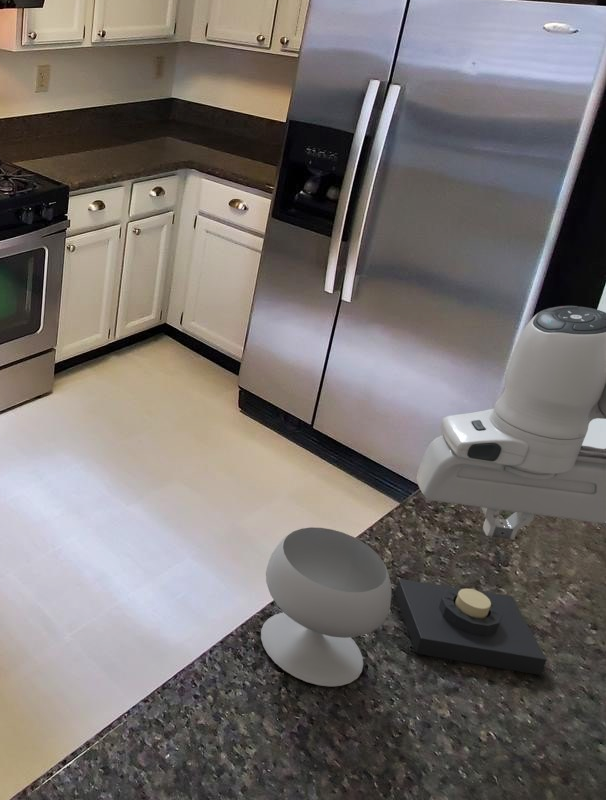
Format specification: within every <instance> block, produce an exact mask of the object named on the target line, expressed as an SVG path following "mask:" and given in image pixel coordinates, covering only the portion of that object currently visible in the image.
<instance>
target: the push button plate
mask: <svg viewBox="0 0 606 800" xmlns="http://www.w3.org/2000/svg"><path fill="white" fill-rule="evenodd" d="M461 589H463V588H462V587H455V586H449V585H443V584H436V583H430V582H423V581H417V580H410V579H403V578H398V580H397V583H396V586H395V589H394V595H395V599H396V601H397V605H398V607H399V610H400V613H401V616H402V618H403V621H404V624H405V627H406V630H407V632H408V635H409V638H410V641H411V643H412V645H413V649H414V651H415V654H417V655H421V656H428V657H434V658H439V659H444V660H451V661H456V662H461V663H468V664H474V665H479V666H485V667H490V668H495V669H496V668H497V669H502V670H507V671H514V672H519V673H525V674H532V675H536V676H541V674H542V672H543V670H544V667H545V665H546V662H547V657H546V656H545V653H544V652H543V650H542V648H541V647H540V645H539V643H538V641H537V639H536V637H535V636H534V633H533V632H532V629H531V628H530V626H529V625H528V622H527V621H526V619H525V617H524V615H523V613H522V612H521V610H520V608H519V606H518V604H517V602H516V600H515V599H514V597H513V596H512V595H506V594H501V593H500V594H499V593H494V592H487V591H482V590H478V591H479V592H481V593H483V594H484V595H485V596H487V597H488V598H489V600H490V602H491V606H490V609H489V612H488V615H487V616H486V617H485V618H476V617H472V616H469V615H467V614H465V613H463V612H462V611H461V610H459V609H458V608H457V607H456V605H455V601H456V599H457V596H458V593H459V591H460V590H461Z"/></svg>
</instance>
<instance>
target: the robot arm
mask: <svg viewBox="0 0 606 800" xmlns="http://www.w3.org/2000/svg"><path fill="white" fill-rule="evenodd" d="M519 335H520V336H519V337H518V340H517V341H516V344H515V346H514V348H513V351H512V354H511V355H510V359H509V362H508V365H507V367H506V371H505V375H504V382H505V384H504V385H505V386H504V389H503V391H502V394H501V395H500V397H499V398H497V400H496V402H495V404H494V407H493V408H489V409H485V410H480V411H475V412H473V411H472V412H467V413H459V414H451V415H446V416H444V417H443V418H442V420H441V422H440V430H441V433H442V435H439V436H437V437H435V438H434V439H433V440H432V441H431V442H430V443H429V445H428V446H427V448H426V449H425V450H426V451H425V452H424V454H423V457H422V459H421V462H420V464H419V466H418V470H417V474H416V484H417V485H418V488H419V490H420V491H421V493H422V495H423V496H424V497H425V498H426V500H429V501H433V502H438V503H439V502H440V503H446V504H447V503H448V504H455V505H461V506H470V507H477V508H481V510H482V512H483V515H484V517H485V519H484V522H483V525H482V531H483V533H484V534H485V536H486V537H492V538H500V539H507V540H515V538H516V536H517V533H518V531H519V530H521V529H523V528H524V527H526V526H527V525H529V524H530V523H532V522H533V521H534V518H535V516H543V517H550V518H558V519H565V520H572V521H573V520H574V521H580V522H588V523H595V524H605V523H606V448H599V447H594V446H590V445H583V443H584V441H585V438H586V436H587V433H588V430H589V426H590V423H591V422H592V421H593V420H596V419H603V420H606V312H605V311H603V310H599V309H596V308H592V307H586V306H579V305H560V306H554V307H548V308H546V309H543V310H541V311H539V312H537V313H536V314H535V315H534V316H533V317H532V318H531V319H530V320H529V321H528V322H527V324H526V325H525V327H524V328H523V330H522V332H521V334H519ZM501 511H505V512H514V513H512V514H511V515H510V516H508V517H507V518H505V519H504V518H496V517H494V516H499V515H500V512H501Z"/></svg>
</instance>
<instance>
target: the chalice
mask: <svg viewBox="0 0 606 800" xmlns="http://www.w3.org/2000/svg"><path fill="white" fill-rule="evenodd" d="M265 583H266V587H267V589H268V592H269V594H270V597H271V598H272V600H273V601H274V603H275V604H276V605H277V607H278V608H279V609H280V610H281V611H282V612H280V613H276V614H274V615H272V616H270V617H269V618H268V619H267V620H265V621H264V622H263V624H262V627H261V629H260V639H261V643H262V646H263V648H264V650H265V652H266V654H267V655H268V656H269V657H270V658H271V660H272V661H273V662H274V663H275V664H276V665H277V666H278V667H279V668H281V669H282V670H283V671H284V672H286V673H288V674H290V676H293V677H294V678H297V679H299V680H302V681H303V682H306V683H309V684H313V685H316V686H321V687H323V686H324V687H341V686H345V685H348V684H351V683H352V682H354V681H356V680H357V679H358V678H359V677H360V675H361V674H362V672H363V668H364V657H363V654H362V652H361V649H360V647H359V646H358V645H357V643H356V642H355V640H354V639H353V638H357V637H361V636H364V635H367V634H370V633H372V632H374V631H375V630H377V629H378V628H379V627H380V626H381V625H383V624H384V623H385V621H386V620H387V618H388V615H389V613H390V611H391V603H392V583H391V578H390V575H389V571H388V569H387V566H386V563H384V560H383V559H382V558H381V556H380V555H379V554H378V553H377V552H376V551H375V550H374V549H373V548H372V547H370V546H369V545H368V544H367V543H365V542H364V541H362V540H360V539H358V538H357V537H355V536H352V535H350V534H348V533H345V532H343V531H339V530H335V529H332V528H325V527H313V526H312V527H311V526H310V527H302V528H299V529H297V530H294V531H291V532H290V533H289V534H287V535H286V536H284V537H283V538H282V539H281V540H280V541H279V543H278V544H277V545H276V547H275V548H274V549H273V551H272V553H271V555H270V557H269V559H268V562H267V565H266V569H265Z"/></svg>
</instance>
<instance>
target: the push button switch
mask: <svg viewBox="0 0 606 800" xmlns="http://www.w3.org/2000/svg"><path fill="white" fill-rule="evenodd" d="M479 591H480V590H476V589H473V588H467V587H466V588H462V589H461V590H460V591H459V593H458V596H457V599H456V601H455V605H456V607H457V608H458V609H459V610H461V611H462V612H463V613H465V614H467V615H469V616H472V617H476V618H485V617H486V616H487V615H488V612H489V609H490V606H491V602H490V600H489V598H488V597H487V596H485V595H484V594H483V593H481V592H482V591H481V592H479Z"/></svg>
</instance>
